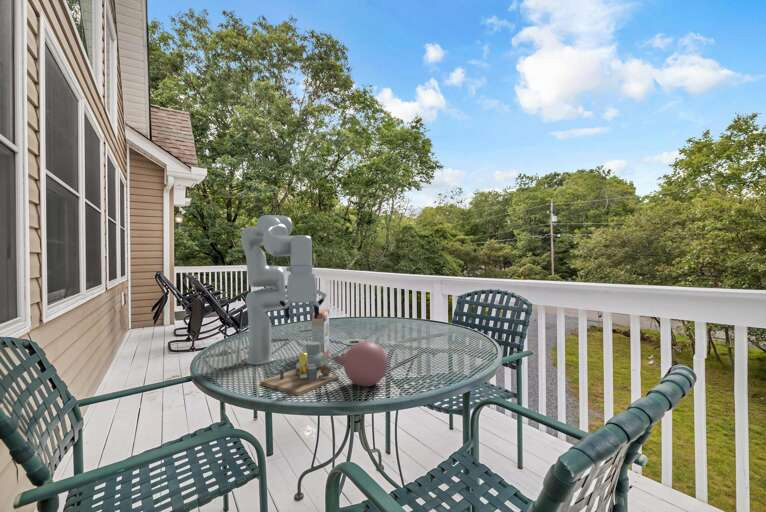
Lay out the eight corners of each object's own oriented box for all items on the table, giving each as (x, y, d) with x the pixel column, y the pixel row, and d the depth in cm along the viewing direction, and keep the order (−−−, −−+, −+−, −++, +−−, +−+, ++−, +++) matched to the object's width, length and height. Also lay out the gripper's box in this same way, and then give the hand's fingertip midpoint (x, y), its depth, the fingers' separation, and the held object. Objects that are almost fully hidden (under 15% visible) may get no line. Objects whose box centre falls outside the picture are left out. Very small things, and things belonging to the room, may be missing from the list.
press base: (260, 384, 135) (259, 369, 135) (300, 370, 151) (300, 356, 151) (299, 395, 124) (298, 378, 124) (338, 378, 140) (338, 364, 140)
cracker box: (325, 360, 165) (324, 313, 165) (311, 360, 165) (310, 313, 165) (330, 352, 179) (329, 308, 179) (317, 352, 179) (316, 309, 179)
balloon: (339, 376, 142) (338, 336, 142) (390, 378, 139) (390, 337, 139) (325, 391, 127) (324, 346, 127) (383, 394, 124) (382, 347, 124)
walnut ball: (318, 375, 138) (318, 364, 138) (325, 372, 142) (325, 362, 142) (326, 377, 136) (326, 366, 136) (333, 374, 139) (333, 363, 139)
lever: (296, 367, 144) (295, 344, 144) (307, 366, 145) (307, 343, 145) (297, 380, 129) (296, 355, 129) (310, 379, 130) (309, 353, 130)
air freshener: (318, 371, 150) (318, 346, 150) (299, 370, 151) (298, 346, 151) (327, 363, 160) (326, 340, 160) (308, 363, 162) (308, 340, 162)
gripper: (275, 271, 126) (276, 321, 126) (327, 270, 131) (327, 318, 131) (276, 270, 133) (277, 318, 134) (324, 269, 138) (325, 315, 138)
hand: (302, 318), depth 132 cm, fingers open, 9 cm apart
